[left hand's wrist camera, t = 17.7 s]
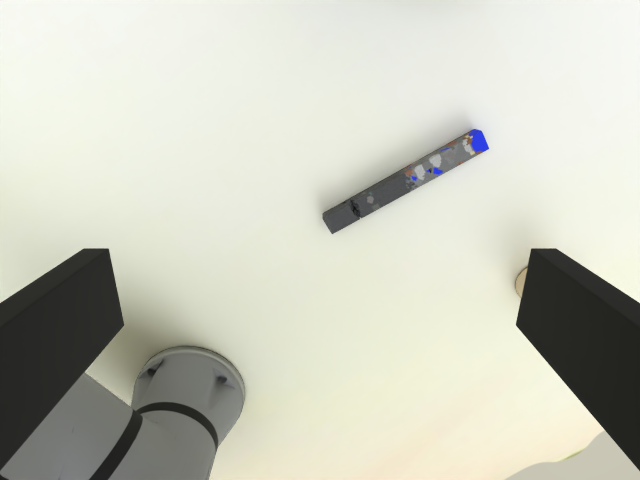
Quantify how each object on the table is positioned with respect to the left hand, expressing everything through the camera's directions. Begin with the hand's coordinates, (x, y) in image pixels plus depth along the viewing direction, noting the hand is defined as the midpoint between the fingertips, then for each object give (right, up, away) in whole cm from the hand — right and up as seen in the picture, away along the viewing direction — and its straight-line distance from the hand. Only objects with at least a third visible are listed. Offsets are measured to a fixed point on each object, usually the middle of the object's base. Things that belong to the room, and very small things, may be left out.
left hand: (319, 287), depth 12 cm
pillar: (+10, +9, +34) cm, 36 cm away
